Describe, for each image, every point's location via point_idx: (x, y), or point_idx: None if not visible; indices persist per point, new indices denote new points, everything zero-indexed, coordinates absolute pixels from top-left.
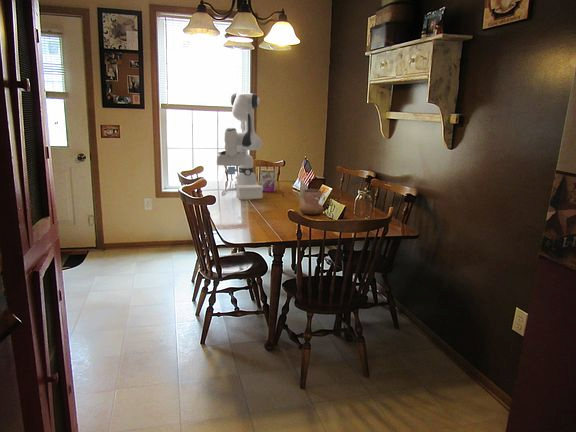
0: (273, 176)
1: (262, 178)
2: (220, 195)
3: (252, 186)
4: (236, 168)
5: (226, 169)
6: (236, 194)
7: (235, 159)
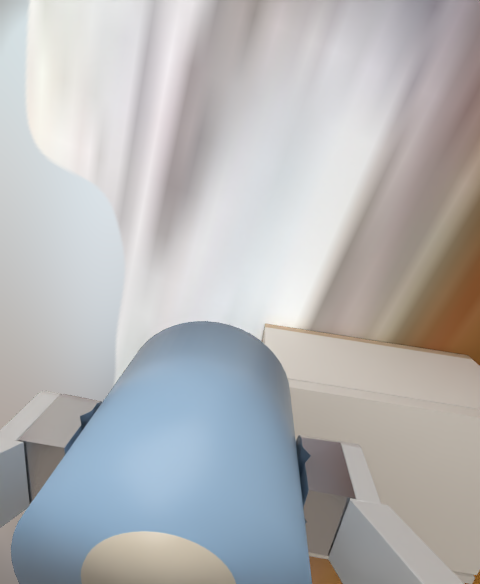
0: None
1: None
2: (139, 222)
3: (400, 510)
4: (340, 575)
5: (19, 495)
6: (264, 332)
7: None
